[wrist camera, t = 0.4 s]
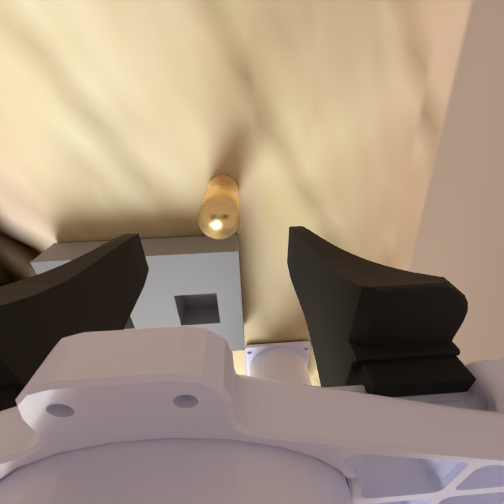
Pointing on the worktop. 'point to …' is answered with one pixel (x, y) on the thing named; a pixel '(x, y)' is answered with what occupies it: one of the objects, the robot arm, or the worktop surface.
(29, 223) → the worktop surface
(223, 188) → the brass pin
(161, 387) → the robot arm
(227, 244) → the bore block
